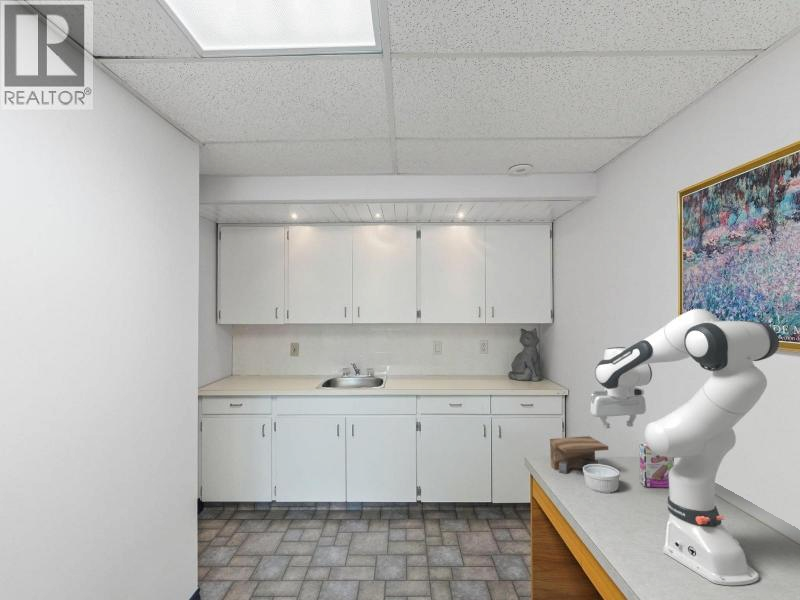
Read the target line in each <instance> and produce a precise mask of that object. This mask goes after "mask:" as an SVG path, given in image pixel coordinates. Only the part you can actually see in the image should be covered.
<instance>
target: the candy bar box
mask: <svg viewBox="0 0 800 600" xmlns="http://www.w3.org/2000/svg"><path fill="white" fill-rule="evenodd" d="M638 445H639V446H638V448H639V449H638V450H639V451H638V452H639V453H638V454H639V484H641V485H642V486H643V485H644V486H645V487H644V486H643V487H644V488H646V487H648V488H647V489H649V488H650V489H651V488H652V489H653V488H656V489H657V488H658V489H662V488H663V489H669V471H670V469H671V468H672V467H673V466H674V465H675V461H674V460H675V458H672V457H664V456H659V455H656V454H655V453H653V452H652V451H651V450H650V449H649V447H648V446H647V444H646V442H639V443H638Z"/></svg>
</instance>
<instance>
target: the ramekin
mask: <svg viewBox="0 0 800 600" xmlns="http://www.w3.org/2000/svg"><path fill="white" fill-rule="evenodd" d="M582 472H583V477H584V481H585V484H586V486H587V488H589V489H590V490H591V489H592V490H591V491H594V492H597V491H598V493H601V492H602V493H601V494H610V493H611V492H612V493H615V492H616V491H617V490H618V489H619V481H620V471H619V470H618V469H616V467H612V466H610V465H608V464H607V465H606V464H601V463H598V464H589V465H585V466H584V467H583V469H582ZM614 491H615V492H614Z"/></svg>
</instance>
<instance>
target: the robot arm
mask: <svg viewBox="0 0 800 600" xmlns="http://www.w3.org/2000/svg"><path fill="white" fill-rule="evenodd" d="M779 345H780V340H779V335H778V333H777V332H776V330H775V329H773V327H772V326H770V325H769V324H766V323H763V322H759V321H754V320H719V319H718V318H717V316H716V315H715V314H714V313H712V312H711V311H709V310H707V309H704V308H693V309H691V310H688V311H686V312H684V313H682V314H680V315H678V316H677V317H675V318H673V319H672V320H671V321H669V322H668V323H666V324H665V325H663V327H661V328H660V329H659V328H658V329H657V330H656V331H655V332H654V333H651V334H650V335H649V336H647V337H645V338H643V339H641V340H640V341H638V342H637V343H634V344H633V345H631V346H629V347H625V346H617V347H616V346H615V347H614V346H613V347H608V348H606V349H605V350H604V354H603V359H601V360H600V361H599V362H598V364H597V365H596V366H595V370H594V374H595V375H594V376H595V379H596V381H597V382H598V383H599V384H600V385H601V386H602V387H603V390H599V391H598V390H597V391H596V390H595V391H594V392H593V393H592V394H591V396H590V408H589V409H590V414H591V415H592V416H594V417H595V418H600V420H601V422H602V424H603V425H602V426H603V429H610V428H611V427H610V423H609V422H607V419H608V417H619V416H620V417H621V416H629V418H628V420H626V426H627V427H634V422H635V420H636V418H637V415H644V414H646V412H647V411H646V410H647V407H646V404H647V403H646V398H645V397H644V394H645V390H644V389H641V388H639V387H642V386H647V385H648V384H650V383H651V380H652V377H653V370H652V368H651V365H650V364H657V363H659V364H660V363H671V362H672V363H673V362H678V361H681V360H684V359H688V358H691V359H692V360H694V361H695V362H696V363H698V364H699V365H700V367H701V368H702V369H704V370H706V371H709V372H712V374H711V375H710V377H709V378H708V379H706V381H705V382H704V384H702V385H701V387H700V388H699V389H698V390H697V392H695V393H694V395H693V396H691V398H690V399H688V401H686V402H685V403H683V404H682V405H680V406H679V407H677V408H675V409H674V410H673V411H671V412H670V413H667V414H666V415H664V416H662V417H661V418H659V419H657V420H654V421H652V422H649V423H647V425H646V426H645V429H644V434H643V436H644V437H643V438H644V441H645V443H646V444H647V446H648V447H649V449H650V450H651V451H652V452H653V453H655V454H656V455H659V456H664V457H672V458H674V459H678V458H679V459H678V461H677V463H674V466H673V467H672V468H671V469H670V471H669V488H668V496H667V502H666V503H667V510H668V512H669V515H668V518H667V523H666V531H665V532H666V533H665V539H664V545H663V547H662V553H664V554H665V555H667V556H669V557H670V558H672V559H673V560H675V561H677V562H678V563H680V564H681V565H683V566H685V567H687V568H688V569H690V570H691V571H693V572H694V573H696V574H698V575H700V576H702V577H703V578H704V579H706V580H708V582H709V581H710V582H711V583H713V584H717V585H722V586H744V585H750V584H754V583H755V582H758V580H759V578H760V576H759V573H758V572H757V571H756V570H755V569H754V568H752V567H751V566H750V565H748V563H747V559H746V558H747V557H746V554H745V552H744V549H743V548H742V546H740V542H739V541H738V539H736V538H734V537H733V536H732V535H731V533H730V532H729V531H728V529H726V527H725V526H724V525H723V523H722V521H724V520H725V518H724V517H725V515H721V514H720V513H719V511H718V508H717V505H716V497H715V495H716V494H715V493H716V491H715V488H716V477H717V475H718V470H719V468H720V466H721V463H722V461H723V459H724V458H725V456H726V455H727V454H728V453H729V452H730V451H731V450H732V449H733V448H734V447H735V445H736V440H737V438H736V437H737V436H736V433H735V430H734V429H733V427H734V426H735V425H736V424H738V423H739V421H741V420H742V419H743V418H744V417H745V416H746V415H747V414H748V412H750V411H751V410H752V408H754V407H755V405H756V404H757V403H758V401H760V399H761V397H762V396H763V394H764V392H765V390H766V389H767V386H768V379H767V377H766V375H765V374H764V372H763V371H762V370H761V369H760V368H758V367H757V366H755V364H754V362H757V361H758V362H759V361H762V360H766V359H768V358H770V357H772V356H773V355H775V354H776V353H777V351H778V349H779V347H780V346H779Z"/></svg>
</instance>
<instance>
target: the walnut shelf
mask: <svg viewBox="0 0 800 600" xmlns="http://www.w3.org/2000/svg"><path fill="white" fill-rule="evenodd" d="M549 445H550V447H549V449H550V450H549V451H550V467H551V468H552V469H553V470H554V471H558V473H560V474H564V475H567V474H568V473H569V471H571V469H572V470H573V469H582V470H583V467H584V466H585V465H589V464H599V460H598V459H596V452H598V451H600V452H601V451H609V446H608V445H606V444H605V443H603V442H601V441H600V440H597V439H595V438H593V437H592V436H590V435H587V436H586V435H585V436H573V437H572V436H571V437H561V438H560V437H557V438H550V439H549Z"/></svg>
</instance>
